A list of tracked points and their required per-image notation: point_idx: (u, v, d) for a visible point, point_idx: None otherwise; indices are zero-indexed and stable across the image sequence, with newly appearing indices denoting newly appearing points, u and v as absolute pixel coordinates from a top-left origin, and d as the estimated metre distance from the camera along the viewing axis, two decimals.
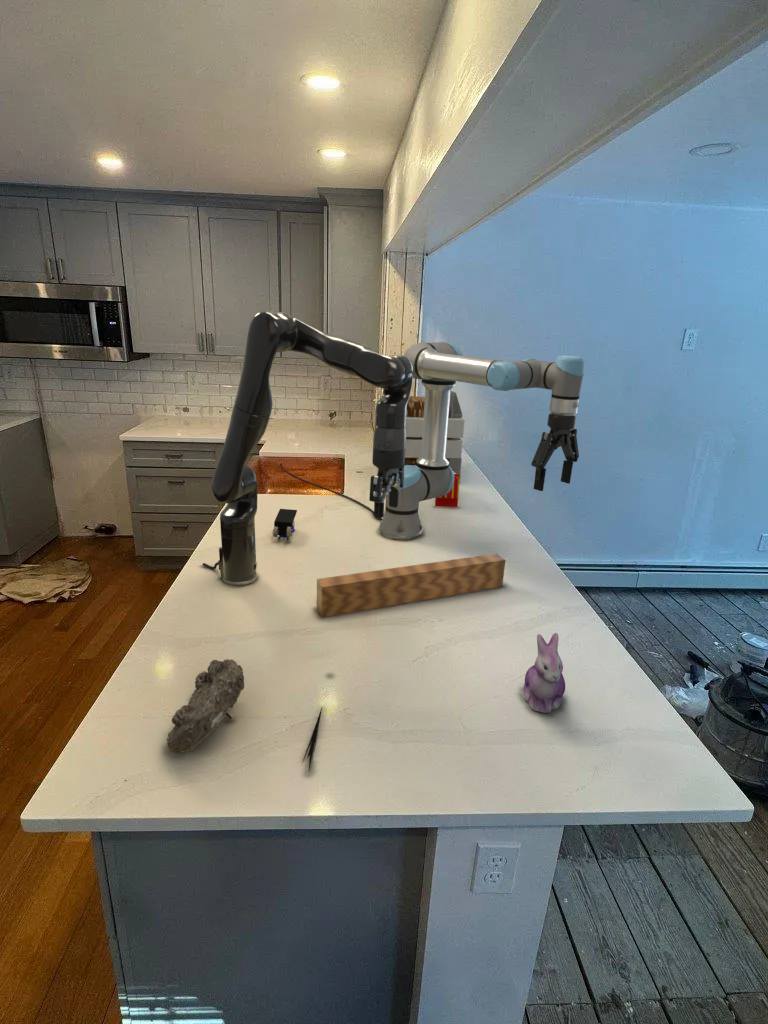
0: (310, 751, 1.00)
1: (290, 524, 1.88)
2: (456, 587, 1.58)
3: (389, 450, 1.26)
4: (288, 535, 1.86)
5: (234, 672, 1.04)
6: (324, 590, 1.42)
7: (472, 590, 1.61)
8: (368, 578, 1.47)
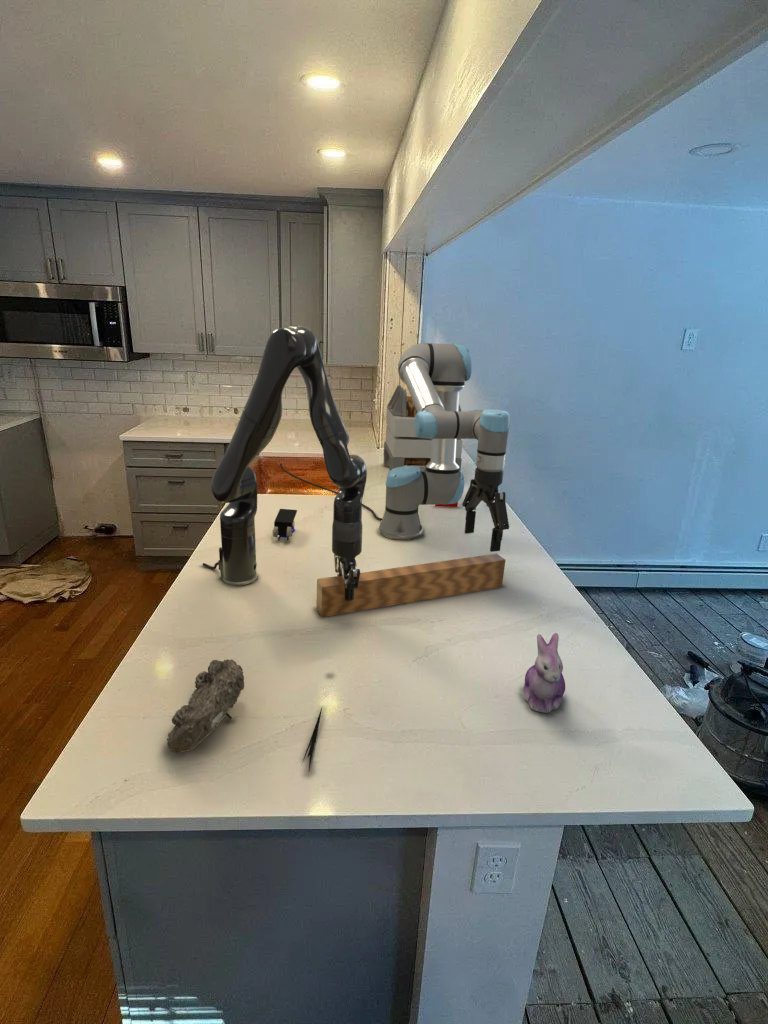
0: (310, 751, 1.00)
1: (290, 524, 1.88)
2: (456, 587, 1.58)
3: (357, 540, 1.40)
4: (288, 535, 1.86)
5: (234, 672, 1.04)
6: (324, 590, 1.42)
7: (472, 590, 1.61)
8: (368, 578, 1.47)
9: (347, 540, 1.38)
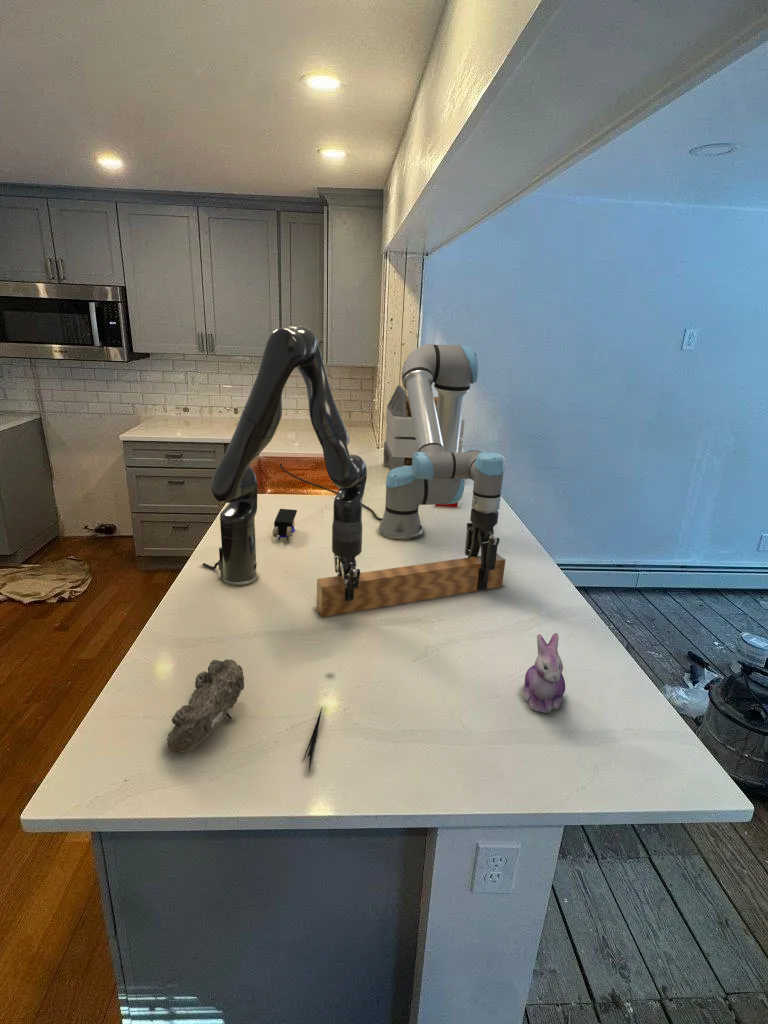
0: (310, 751, 1.00)
1: (290, 524, 1.88)
2: (456, 587, 1.58)
3: (357, 540, 1.40)
4: (288, 535, 1.86)
5: (234, 672, 1.04)
6: (324, 590, 1.42)
7: (472, 590, 1.61)
8: (368, 578, 1.47)
9: (347, 540, 1.38)
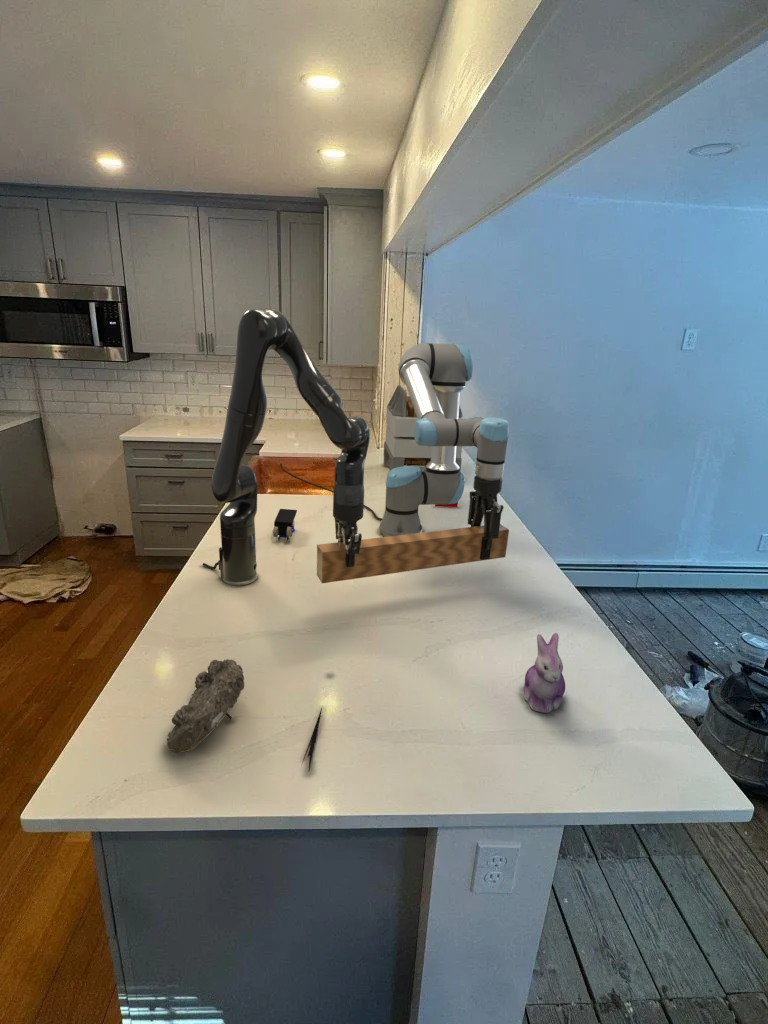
0: (310, 751, 1.00)
1: (290, 524, 1.88)
2: (458, 556, 1.55)
3: (359, 504, 1.37)
4: (288, 535, 1.86)
5: (234, 672, 1.04)
6: (325, 555, 1.39)
7: (475, 560, 1.58)
8: (369, 545, 1.44)
9: (349, 504, 1.35)
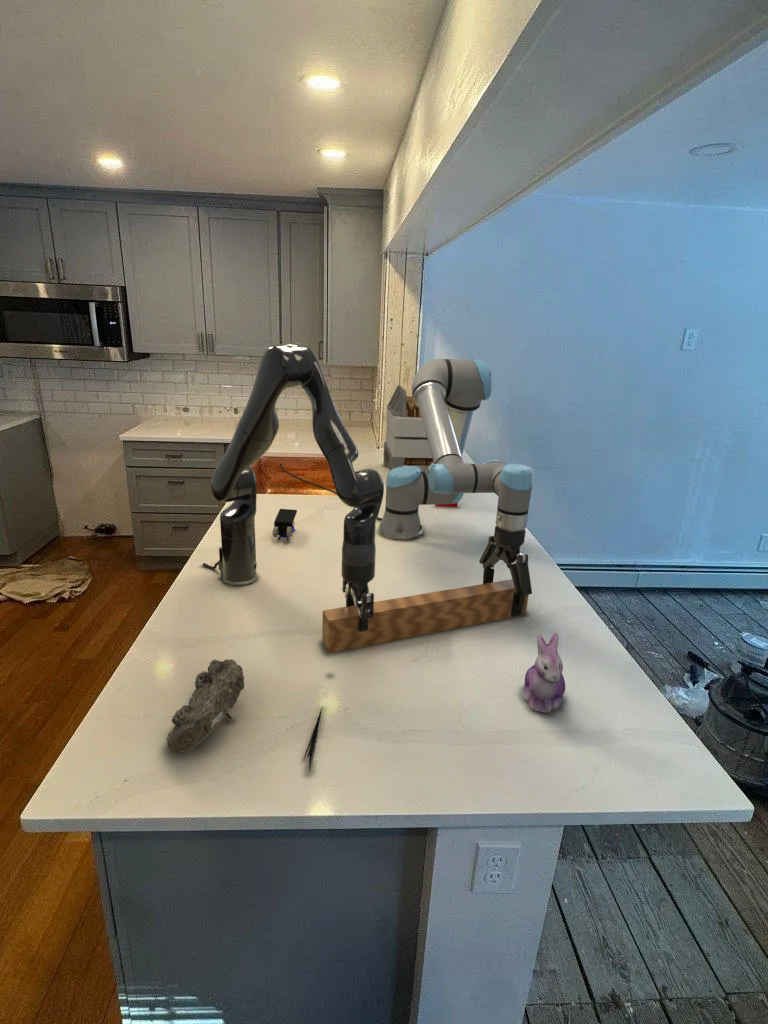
0: (310, 751, 1.00)
1: (290, 524, 1.88)
2: (475, 616, 1.43)
3: (370, 564, 1.24)
4: (288, 535, 1.86)
5: (234, 672, 1.04)
6: (331, 624, 1.27)
7: (493, 619, 1.46)
8: (379, 609, 1.32)
9: (359, 564, 1.23)
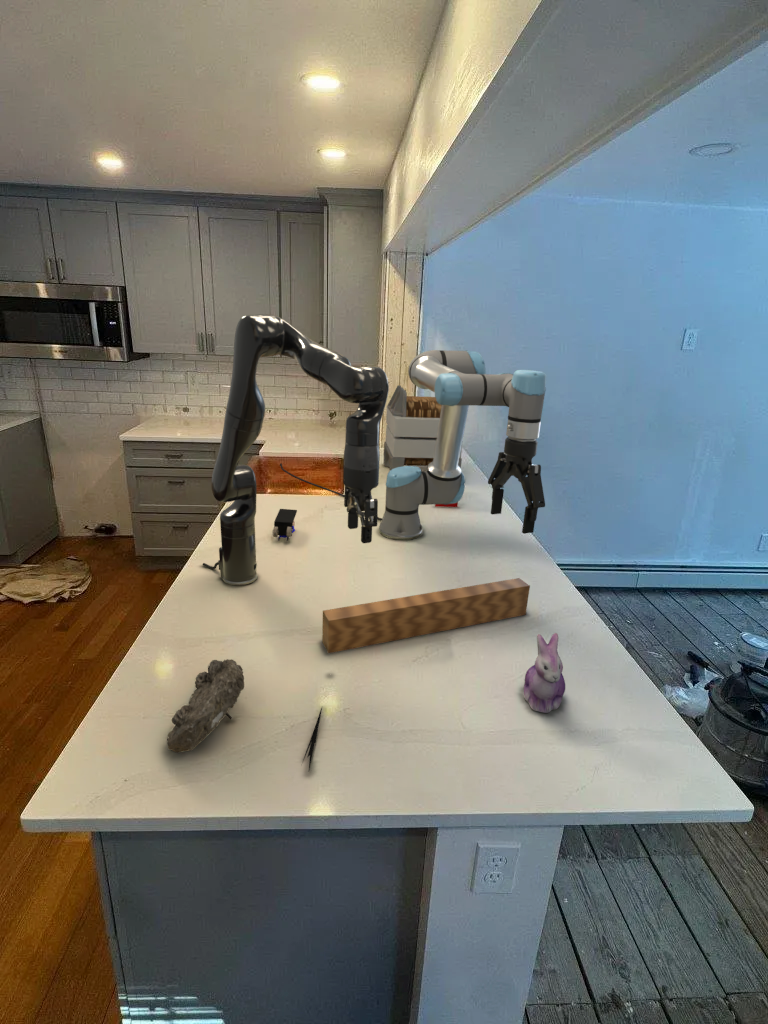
0: (310, 751, 1.00)
1: (290, 524, 1.88)
2: (475, 616, 1.43)
3: (374, 469, 1.17)
4: (288, 535, 1.86)
5: (234, 672, 1.04)
6: (331, 624, 1.27)
7: (493, 619, 1.46)
8: (379, 609, 1.32)
9: (362, 468, 1.16)
